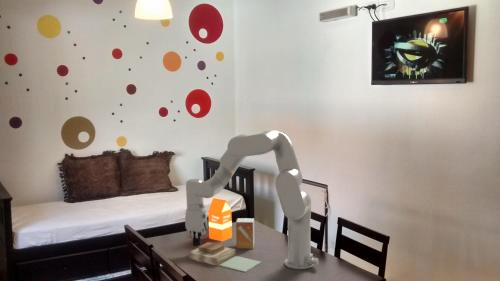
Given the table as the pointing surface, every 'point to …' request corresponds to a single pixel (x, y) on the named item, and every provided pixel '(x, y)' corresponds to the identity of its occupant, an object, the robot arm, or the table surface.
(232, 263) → the mat
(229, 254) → the deck
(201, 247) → the tile
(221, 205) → the orange juice
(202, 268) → the table surface
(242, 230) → the small box
